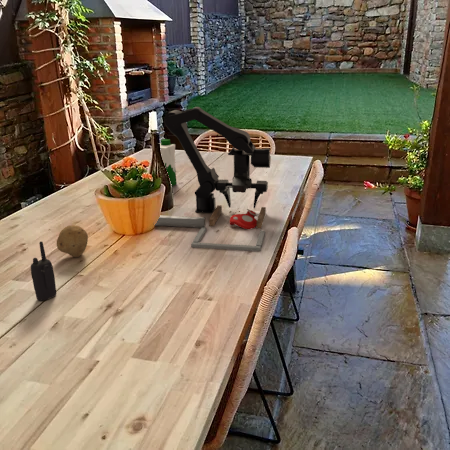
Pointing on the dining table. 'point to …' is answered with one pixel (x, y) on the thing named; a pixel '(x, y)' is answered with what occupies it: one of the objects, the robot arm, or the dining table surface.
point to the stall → (219, 210)
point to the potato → (72, 240)
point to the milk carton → (169, 159)
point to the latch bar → (181, 221)
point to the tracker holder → (244, 220)
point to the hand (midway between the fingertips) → (242, 207)
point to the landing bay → (227, 246)
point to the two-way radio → (43, 276)
